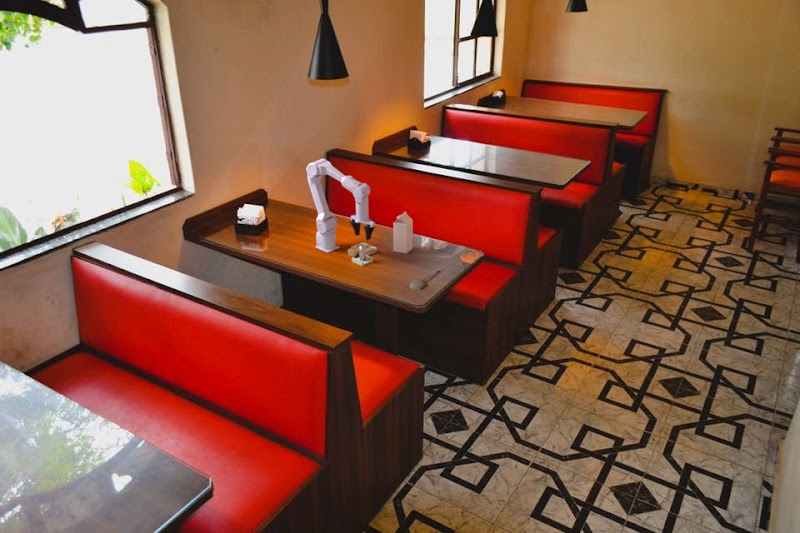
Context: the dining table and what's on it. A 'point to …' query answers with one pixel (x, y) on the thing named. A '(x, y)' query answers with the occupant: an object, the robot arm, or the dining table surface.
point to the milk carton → (403, 234)
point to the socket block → (369, 248)
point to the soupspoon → (420, 282)
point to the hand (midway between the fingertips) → (363, 237)
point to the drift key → (353, 252)
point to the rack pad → (362, 263)
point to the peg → (362, 252)
